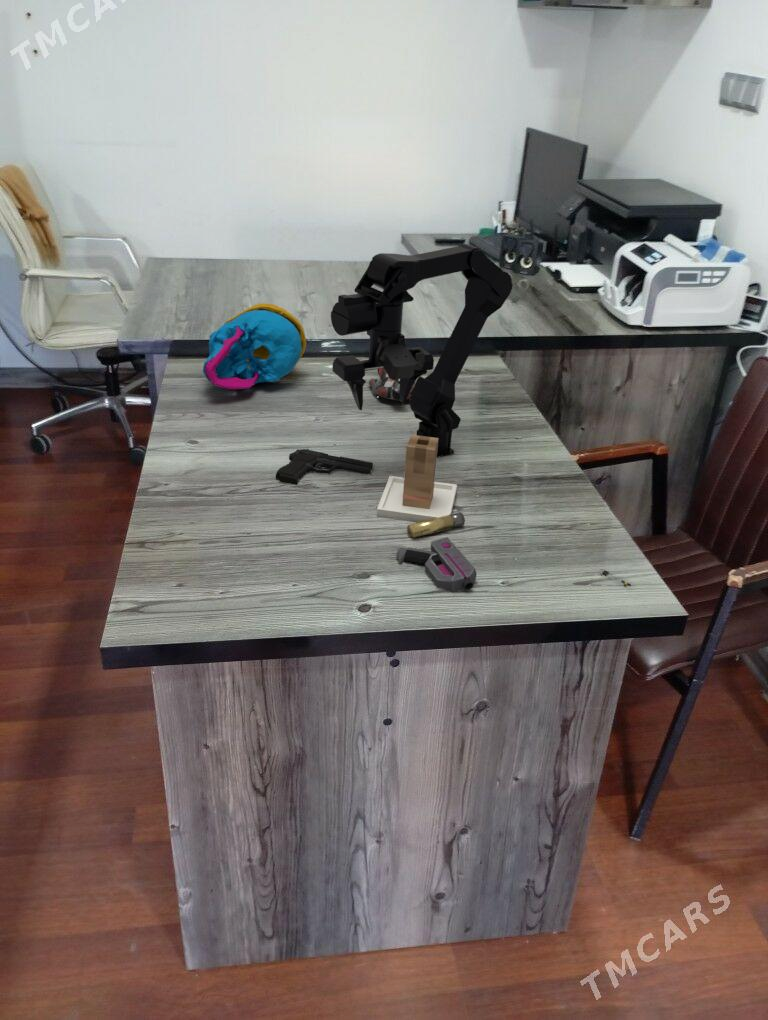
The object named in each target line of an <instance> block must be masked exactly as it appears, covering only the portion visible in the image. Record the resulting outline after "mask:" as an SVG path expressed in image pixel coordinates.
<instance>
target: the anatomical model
mask: <svg viewBox="0 0 768 1020" xmlns="http://www.w3.org/2000/svg"><path fill="white" fill-rule="evenodd" d="M306 347H307V338H306V333H305V329H304V327H303V326H302V324H301V322H300V321H299V320H298V318H296V317H295V316H294V315H293V314H292V313H290V312H289V311H287V310H286V309H284V308H283V307H280V306H278V305H276V304H272V303H264V302H263V303H262V302H261V303H258V304H257V303H256V304H254V305H252V306H249V307H248V308H246V309H244V310H243V311H241V312H239V313H238V314H236V315H235V316H232V317H231V318H230V319H228V320H226V321H225V323H224V324H223V325H220V327H218V329H217V330H215V331H212V333H211V334H209V341H208V349H209V350H208V351H209V356H208V357H207V358H206V359H205V360H204V364H203V367H202V373H203V374H204V376H205V378H206V379H207V380H208V382H211V383H212V384H213V385H215V386H216V387H219V388H222V389H227V390H244V389H250V388H252V387H253V386H254V385H256V384H257V383H258V384H259V383H264V382H265V383H275V382H277V381H279V380H280V379H281V378H283V377H285V376H287V375H288V374H289V373H291V371H293V369H295V367H296V364H297V363H298V362H299V361H300V360H301V358H303V357H302V356H303V355H304V353H305V352H306Z"/></svg>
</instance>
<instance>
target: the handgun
mask: <svg viewBox="0 0 768 1020" xmlns="http://www.w3.org/2000/svg"><path fill="white" fill-rule="evenodd" d="M288 460H289V461H290V462H289V463H287V464H285V465H283V466H281V467H280V468H278V470H276V473H275V480H277V481H278V482H279V483H283V484H288V485H298V482H299V480H300V479H302V477H304V476H305V475H306V474H308V473H316V474H328V475H330V474H331V473H333V471H340V470H342V471H346V470H347V471H348V472H353V473H358V474H363V475H370V474H371V472H372V470H373V469H374V462H371V461H367V460H366V461H365V460H360V459H356V458H350V457H345V456H341V455H340V456H338V455H333V454H329V453H325V452H323V451H322V452H320V451H316V450H311V449H309V448H302V449H301V448H300V449H298V448H297V449H296V451H294V452H291V453H289V455H288ZM322 467H324V469H317V468H322ZM328 468H329V469H328Z"/></svg>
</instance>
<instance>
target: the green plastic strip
mask: <svg viewBox="0 0 768 1020" xmlns="http://www.w3.org/2000/svg"><path fill="white" fill-rule="evenodd" d="M601 575H603V576H605V577H608V576H609V577H608V579H610V572H609V571H607V570H604V571H602V572H601ZM611 579H612V580H614V578H613V577H611ZM614 581H615V580H614ZM620 582H621V584H623V583H624V584H623V587H628V586H629V587H630V586H632V584H630V583H629V582H627V581H624V580H621V581H620Z"/></svg>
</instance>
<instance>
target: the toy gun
mask: <svg viewBox="0 0 768 1020" xmlns="http://www.w3.org/2000/svg"><path fill="white" fill-rule="evenodd" d="M395 557H396V560H397V562H398V564H400V565H401V564H403V563H404V561H405V562H407V563H408V562H410V563H415V564H420V565H424V572H425V573H426V575H427V576H428V575H429V576H428V577H429V578H430V580H431V579H432V580H431V581H432V582H433V584H434V585H435V586H436V587H437V588H439V587H440V589H443V588H444V589H445V590H449V591H451V592H452V591H455V592H459V591H458V590H460V591H463V589H464V590H465V591H470V590H472V588H473V587H474V583H475V582H476V578H477V574H478V573H477V571H476V568H475V567H474V565H473V564H472V563H471V562H470V560H468V559H467V557H466V556H465V555H464V554H463V553H462V552H461V550H460V549H459V548H457V546H456V544H455V543H454V542H453V541H451V539H450V538H449V537H447V536H446V537H442V538H439V539H435V540H433V541H431V542H430V550H429V549H428V550H427V549H421V548H416V547H415V548H414V547H405V548H404V547H399V548H398V550H397V551H396V555H395ZM437 564H438V565H437ZM444 589H443V590H444Z"/></svg>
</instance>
